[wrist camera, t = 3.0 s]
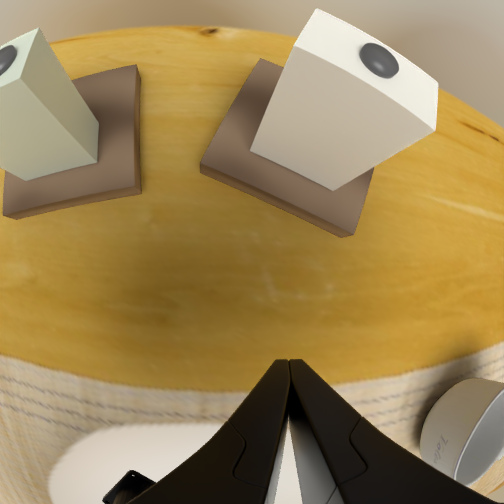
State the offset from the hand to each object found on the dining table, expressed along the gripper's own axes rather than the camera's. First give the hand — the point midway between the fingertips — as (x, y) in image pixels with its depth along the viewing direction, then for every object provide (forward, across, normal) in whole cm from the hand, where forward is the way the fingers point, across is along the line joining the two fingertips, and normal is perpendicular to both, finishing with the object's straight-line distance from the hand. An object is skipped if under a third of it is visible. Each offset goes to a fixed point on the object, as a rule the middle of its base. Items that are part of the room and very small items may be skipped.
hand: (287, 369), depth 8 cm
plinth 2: (+16, +2, +6) cm, 17 cm away
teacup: (+9, +19, -20) cm, 29 cm away
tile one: (+13, +1, +6) cm, 14 cm away
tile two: (+10, -14, +8) cm, 19 cm away
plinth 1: (+12, -15, +8) cm, 21 cm away
